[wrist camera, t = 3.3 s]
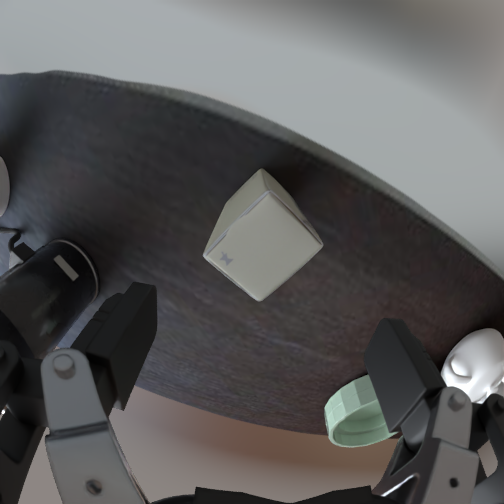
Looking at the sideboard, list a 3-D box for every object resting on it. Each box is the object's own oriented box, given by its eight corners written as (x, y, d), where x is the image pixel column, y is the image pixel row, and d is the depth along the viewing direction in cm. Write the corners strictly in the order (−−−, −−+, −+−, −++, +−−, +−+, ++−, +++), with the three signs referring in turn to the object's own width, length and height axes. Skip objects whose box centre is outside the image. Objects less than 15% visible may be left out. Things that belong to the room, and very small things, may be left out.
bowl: (311, 424, 41) (315, 449, 36) (344, 367, 35) (353, 396, 30) (385, 420, 42) (392, 442, 36) (425, 365, 36) (438, 389, 31)
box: (256, 233, 28) (256, 309, 16) (223, 202, 26) (196, 259, 15) (296, 196, 26) (328, 247, 14) (262, 163, 25) (268, 186, 13)
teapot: (406, 378, 37) (429, 428, 27) (455, 310, 31) (494, 357, 21) (473, 380, 39) (494, 415, 29) (511, 327, 34) (540, 361, 24)
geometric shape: (461, 387, 47) (447, 442, 38) (498, 359, 37) (490, 423, 28) (495, 400, 42) (485, 452, 32) (533, 375, 31) (527, 434, 22)
